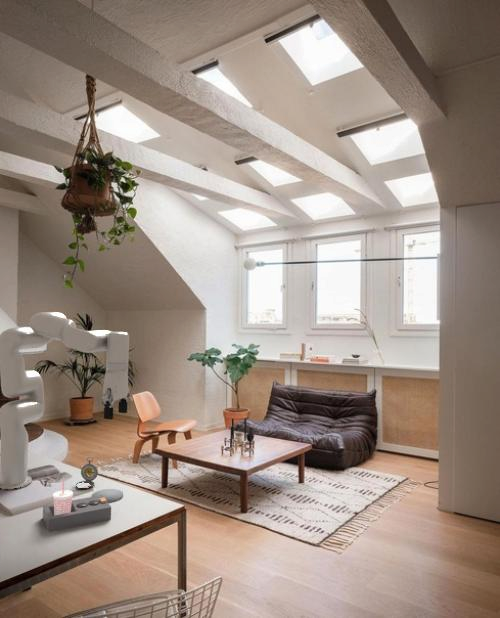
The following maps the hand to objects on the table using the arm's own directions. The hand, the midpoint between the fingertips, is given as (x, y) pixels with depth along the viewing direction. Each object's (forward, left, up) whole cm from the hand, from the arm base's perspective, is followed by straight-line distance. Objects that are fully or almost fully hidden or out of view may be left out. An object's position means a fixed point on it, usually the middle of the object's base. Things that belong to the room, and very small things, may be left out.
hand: (115, 415), depth 168 cm
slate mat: (-7, 0, -31) cm, 32 cm away
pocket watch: (-21, -4, -31) cm, 38 cm away
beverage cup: (+6, -18, -31) cm, 37 cm away
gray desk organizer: (+6, -14, -31) cm, 34 cm away
